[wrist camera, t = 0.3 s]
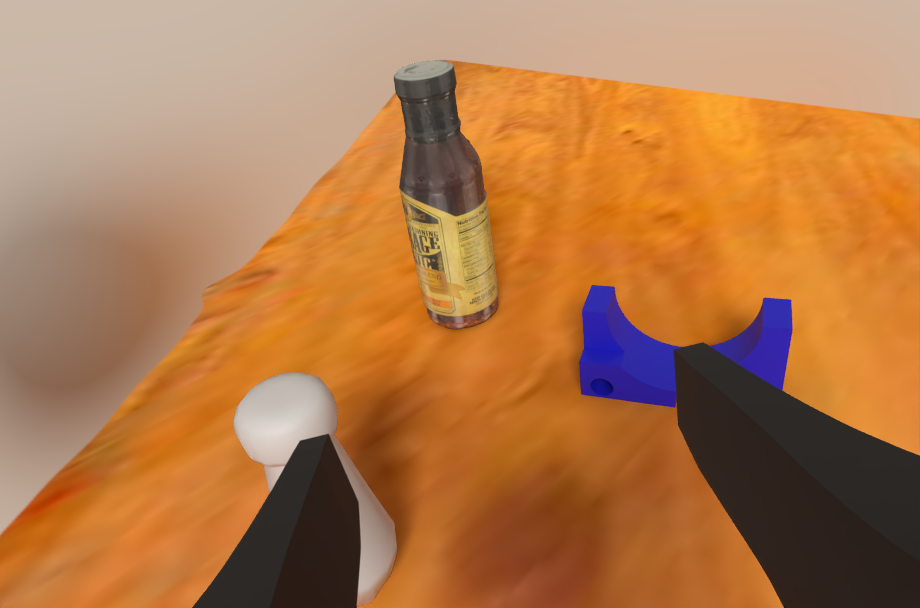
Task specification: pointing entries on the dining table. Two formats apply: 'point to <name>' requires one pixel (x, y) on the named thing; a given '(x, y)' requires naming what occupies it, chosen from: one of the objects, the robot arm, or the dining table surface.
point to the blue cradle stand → (669, 351)
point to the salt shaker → (306, 416)
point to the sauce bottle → (445, 200)
